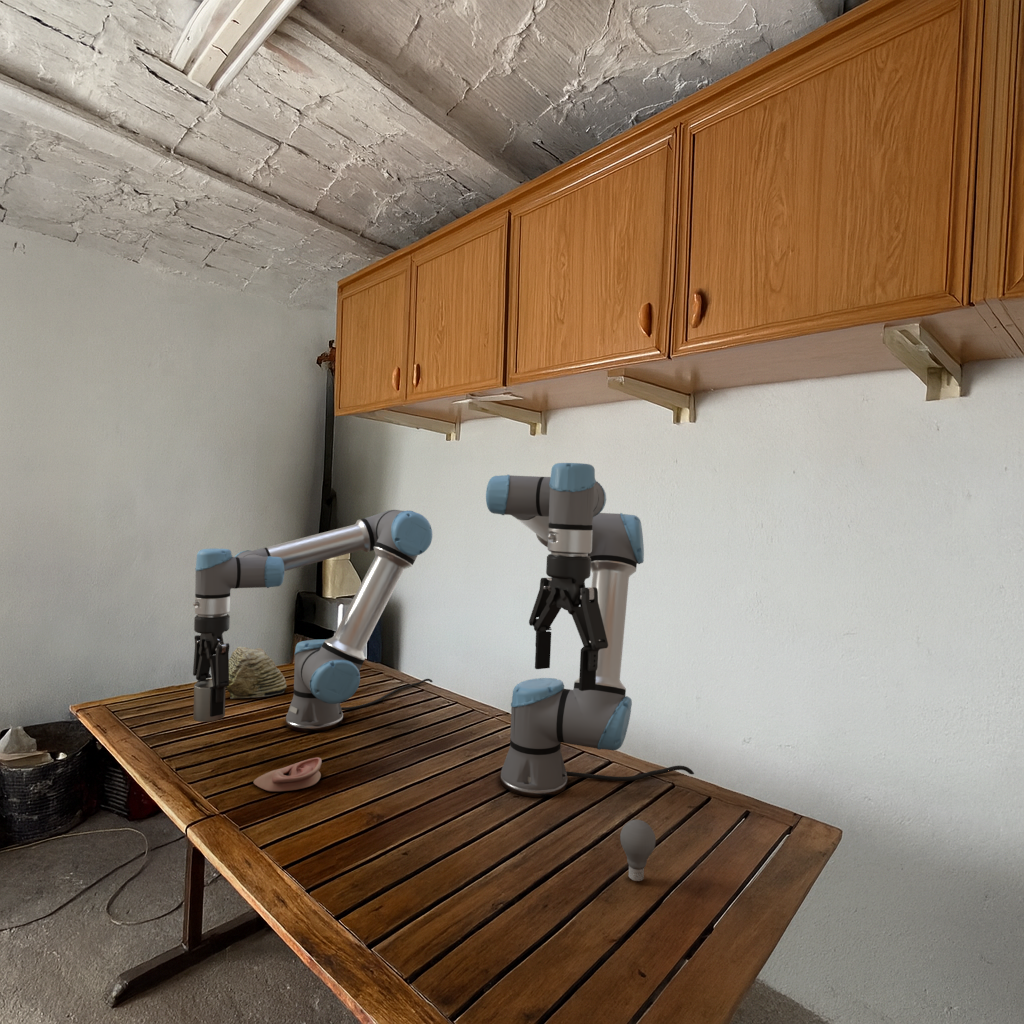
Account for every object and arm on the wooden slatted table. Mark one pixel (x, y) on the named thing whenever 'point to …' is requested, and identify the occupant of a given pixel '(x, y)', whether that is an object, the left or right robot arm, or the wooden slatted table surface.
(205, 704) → the can
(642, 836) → the light bulb
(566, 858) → the wooden slatted table surface
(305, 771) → the anatomical model
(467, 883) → the wooden slatted table surface
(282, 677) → the fossil
